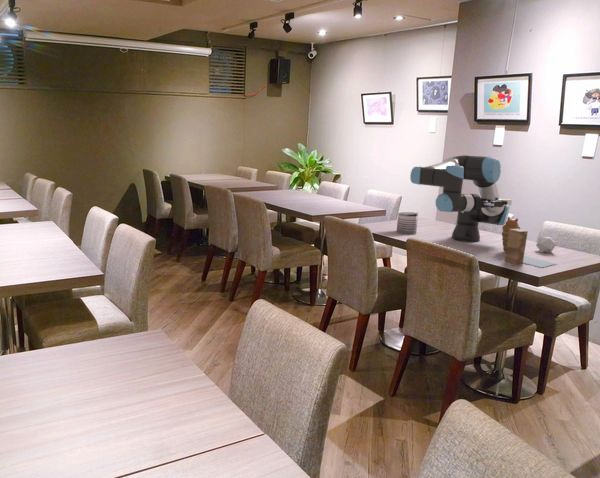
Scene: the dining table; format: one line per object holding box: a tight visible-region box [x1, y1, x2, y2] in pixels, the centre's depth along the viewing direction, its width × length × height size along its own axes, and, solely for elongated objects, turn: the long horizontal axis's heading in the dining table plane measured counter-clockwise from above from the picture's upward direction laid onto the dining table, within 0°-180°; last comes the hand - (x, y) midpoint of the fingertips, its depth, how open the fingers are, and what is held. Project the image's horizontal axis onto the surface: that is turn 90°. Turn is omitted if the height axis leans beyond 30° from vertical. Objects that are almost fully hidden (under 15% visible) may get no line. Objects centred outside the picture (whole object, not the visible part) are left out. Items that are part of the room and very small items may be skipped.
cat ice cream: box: [501, 216, 521, 253], centre depth 258 cm, size 9×8×18 cm
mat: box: [523, 255, 557, 269], centre depth 244 cm, size 18×14×1 cm
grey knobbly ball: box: [535, 236, 557, 254], centre depth 266 cm, size 8×9×10 cm
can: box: [396, 211, 419, 236], centre depth 295 cm, size 11×11×12 cm
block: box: [504, 228, 529, 266], centre depth 236 cm, size 5×6×16 cm
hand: (510, 202), depth 229 cm, fingers closed
